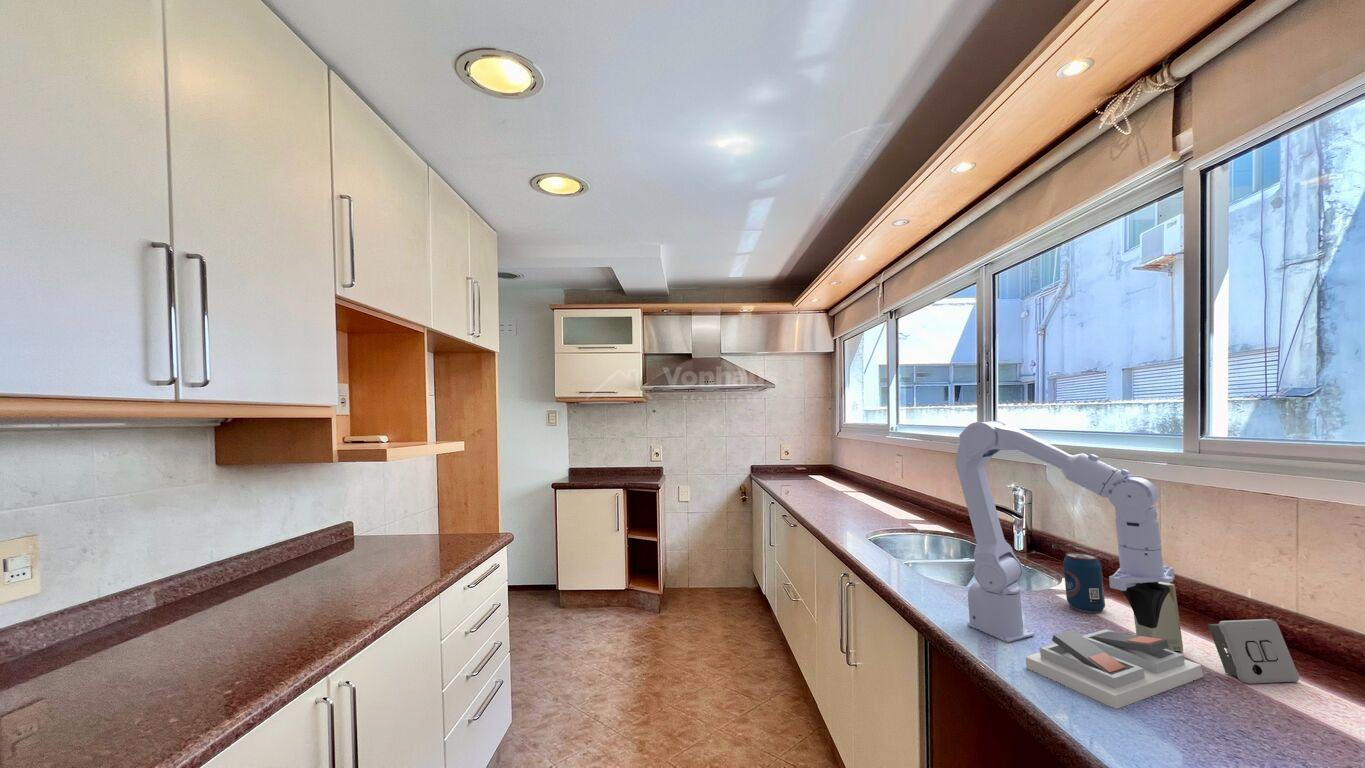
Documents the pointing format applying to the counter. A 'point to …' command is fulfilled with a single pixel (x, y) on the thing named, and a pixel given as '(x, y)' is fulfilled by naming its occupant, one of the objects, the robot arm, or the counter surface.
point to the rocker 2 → (1132, 642)
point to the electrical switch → (1254, 651)
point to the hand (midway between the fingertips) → (1147, 625)
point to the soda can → (1084, 582)
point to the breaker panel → (1120, 688)
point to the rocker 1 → (1087, 652)
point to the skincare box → (1165, 623)
